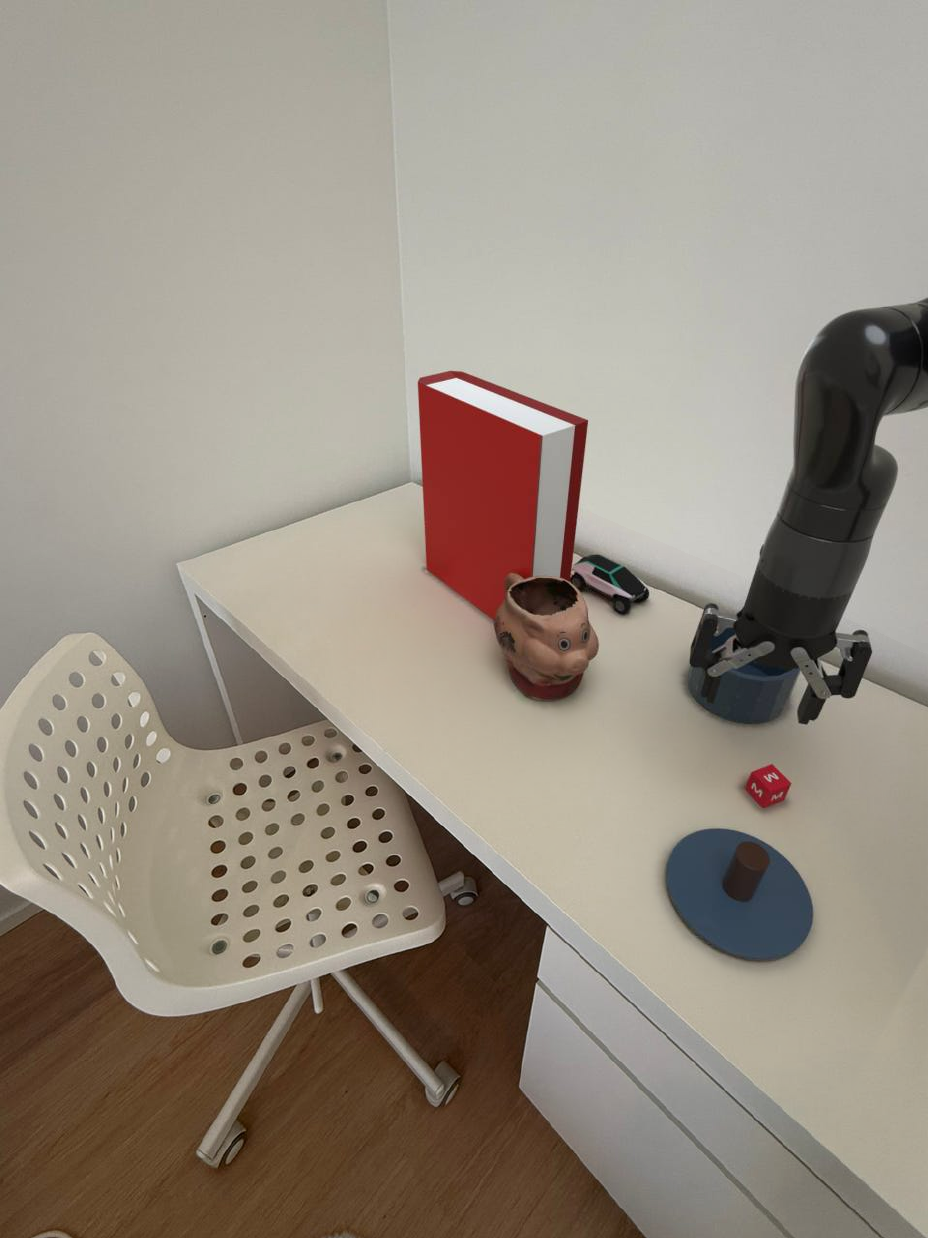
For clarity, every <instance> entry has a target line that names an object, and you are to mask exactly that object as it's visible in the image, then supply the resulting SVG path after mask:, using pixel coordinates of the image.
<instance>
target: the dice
mask: <svg viewBox="0 0 928 1238" xmlns="http://www.w3.org/2000/svg"><path fill="white" fill-rule="evenodd" d="M791 787H792V782H791V781H790V780H789V779H788V778H787V777H786V776H785V775H784V773H782V772H781V770H779V769H778V768H777V767H776V766H775V765H774V764H773V763H771V764H768V765H765V766H763V767H760V768H757V769H754V770H752V771H751V772H750V774H749V777H748V779H747V782H746V784H745V787H744V790H745V791H746V792H747V793H748V794H749V795H750V796H751V797H752V798H753V799H754V801H755V802H756V803H757V804H758V805H759V806H760V807H761V808H762V809H766V808H768V807H770V806H773V805H775V804H778V803H780V802H784V801H785V800H786V797H787V795H788V793H789V790H790V788H791Z"/></svg>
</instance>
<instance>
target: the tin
mask: <svg viewBox="0 0 928 1238" xmlns="http://www.w3.org/2000/svg"><path fill="white" fill-rule="evenodd" d="M734 635H735V633H734V631H733V628H727V629H725V630H724V631H723V633H722V634H719V636H713V638H712V641H711V644H710V646H709V649H708V650H709V651H711V652H712V651H714V650H716V649H717V648H719V647H721V646H722V645H724V644H725V643H726V641H727V640H728V639H729V638H731V637H732V636H734ZM742 649H743V648H742ZM742 649H741V650H742ZM689 666H690V667H689V671H688V677H687V686H688V689H689V692H690V694H691V695H692V697H693V698H694V699H695V701H696V702H697V703H698V704H700V706H702V707H703V708H704V709H705V710H707V711H709V712H710V713H711V714H713V715H716V716H717V717H720V718H722V719H725V720H728V721H731V722H734V723H735V722H736V723H740V724H750V725H751V724H753V725H755V724H757V725H758V724H763V723H764V724H765V723H768V722H771V721H773V720H775V719H776V718H779V716H780V715H781V714H782V713H783V712H784V711H785V708H786V706H787V705H788V703H789V702H790V701H789V700H790V698H791V696H792V693H793V691H794V688H795V686H796V684H797V681H798V680H799V676H800V674H801V673H802V672H801V670H800V668H797V669H792V671H787V670H782V669H780V668H777V667H775V666H762V665H757V664H755V661H753V660H752V661H751V662H749V663H747V664H745V665H743V666H742V667H740V668H738V669H735V668H732V669H730V670H728V671H727V672H725V673H723V674H721V681H720V684H719V687H718V690H717V694H716V697H715V700H714V703H713V704H708V703H705V699H706V698H705V697H701V693H700V691H701V682H702V678H703V675H704V672H705V670H704V669H703V668H701V667H699V668H694V667H692V666H691V665H689Z"/></svg>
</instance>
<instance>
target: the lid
mask: <svg viewBox="0 0 928 1238" xmlns="http://www.w3.org/2000/svg"><path fill="white" fill-rule="evenodd" d="M665 883H666V888H667V891H668V895H669V898H670V900H671V902H672V905H673V907H674V908H675V910H676V912H677V913H678V915H679V916H680V918H681V920H683V922H684V923H685V924H686V925H687V926H688V928H689V929H690V930H691V931H692V932H694V933H695V935H697V936H698V937H699V938H700V939H702V940H703V941H704V942H706V943H707V944H708V945H710V946H711V947H714V948H715V949H717V950H718V951H720V952H723V953H725V954H727V955H730V956H733V957H735V958H737V959H743V960H747V961H755V962H765V961H766V962H767V961H775V960H779V959H782V958H784V957H788V956H789V955H791V954H793V953H794V952H796V951H797V950H798V949H799V948H800V947H801V946H802V945H803V944H804V943H805V941H806V939H807V938H808V936H809V934H810V932H811V929H812V926H813V921H814V906H813V901H812V897H811V894H810V892H809V888H808V887H807V884H806V882H805V881H804V879H803V877H802V875H800V873H799V872H798V870H797V869H796V867H795V866H794V865H793V864H792V863H791V862H790V860H788V859H787V857H785V856H784V855H783V854H782V853H781V852H780V851H778V850H777V849H776V848H774V847H773V846H771V844H769V843H767V842H766V841H763V840H761V839H759V838H757V837H756V836H754V835H750V834H748V833H746V832H743V831H740V830H735V829H731V828H730V829H729V828H719V827H717V828H713V827H712V828H705V829H700V830H697V831H694V832H692V833H690V834H688V835H686V836H684V837H683V838H682V839H680V840H679V841H678V842H677V843H676V845H675V846H674V847H673V848H672V850H671V853H670V854H669V858H668V860H667V863H666V870H665Z"/></svg>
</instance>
